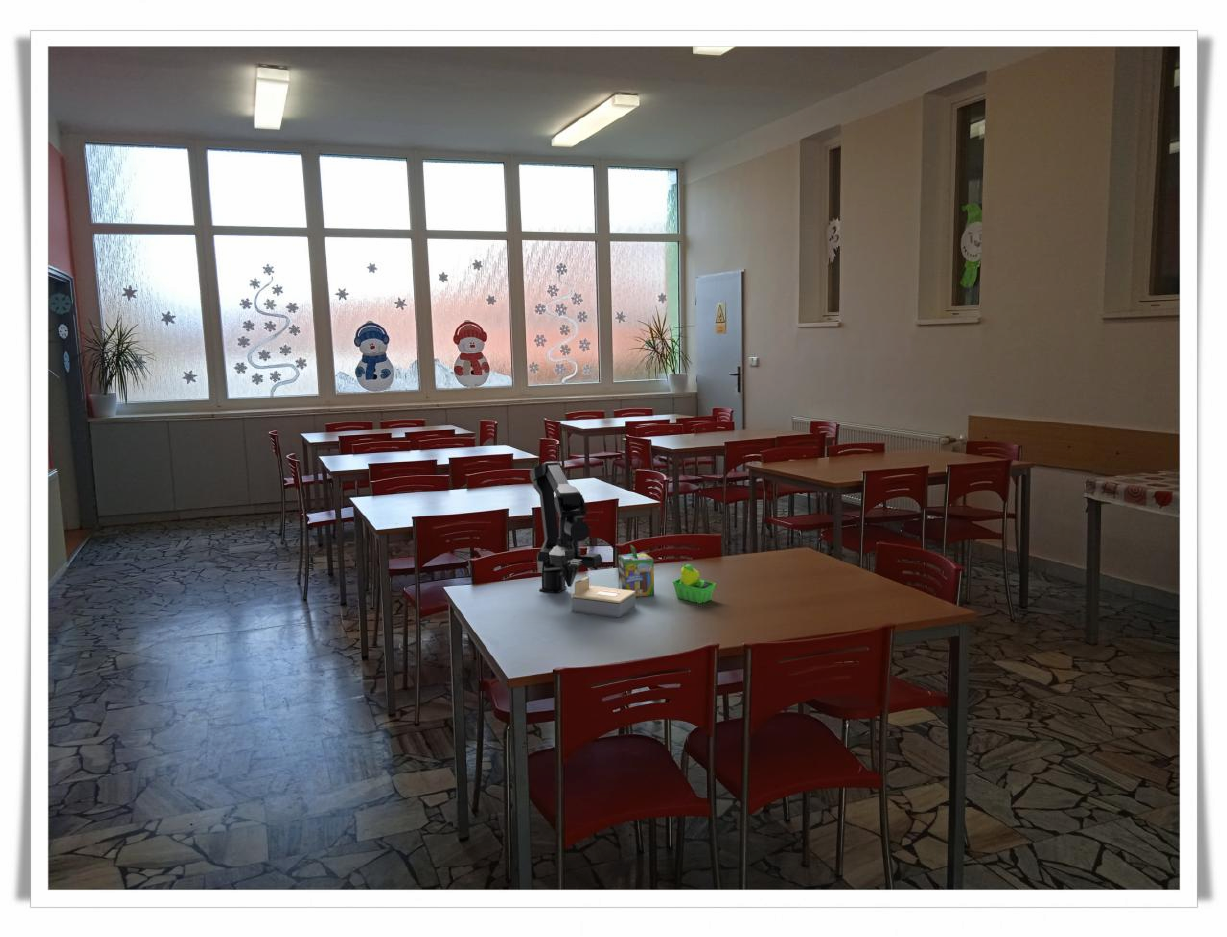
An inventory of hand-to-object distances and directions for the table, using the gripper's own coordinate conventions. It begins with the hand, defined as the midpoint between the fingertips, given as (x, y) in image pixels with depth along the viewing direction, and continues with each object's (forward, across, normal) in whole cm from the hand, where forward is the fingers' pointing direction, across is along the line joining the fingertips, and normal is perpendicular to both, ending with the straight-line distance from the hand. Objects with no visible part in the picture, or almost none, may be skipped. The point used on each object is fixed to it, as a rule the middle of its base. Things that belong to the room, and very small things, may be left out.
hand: (569, 586), depth 247 cm
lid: (+1, +11, 0) cm, 11 cm away
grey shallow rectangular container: (+6, +11, 0) cm, 12 cm away
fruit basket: (+6, +31, +20) cm, 37 cm away
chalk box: (+6, +13, +19) cm, 24 cm away
